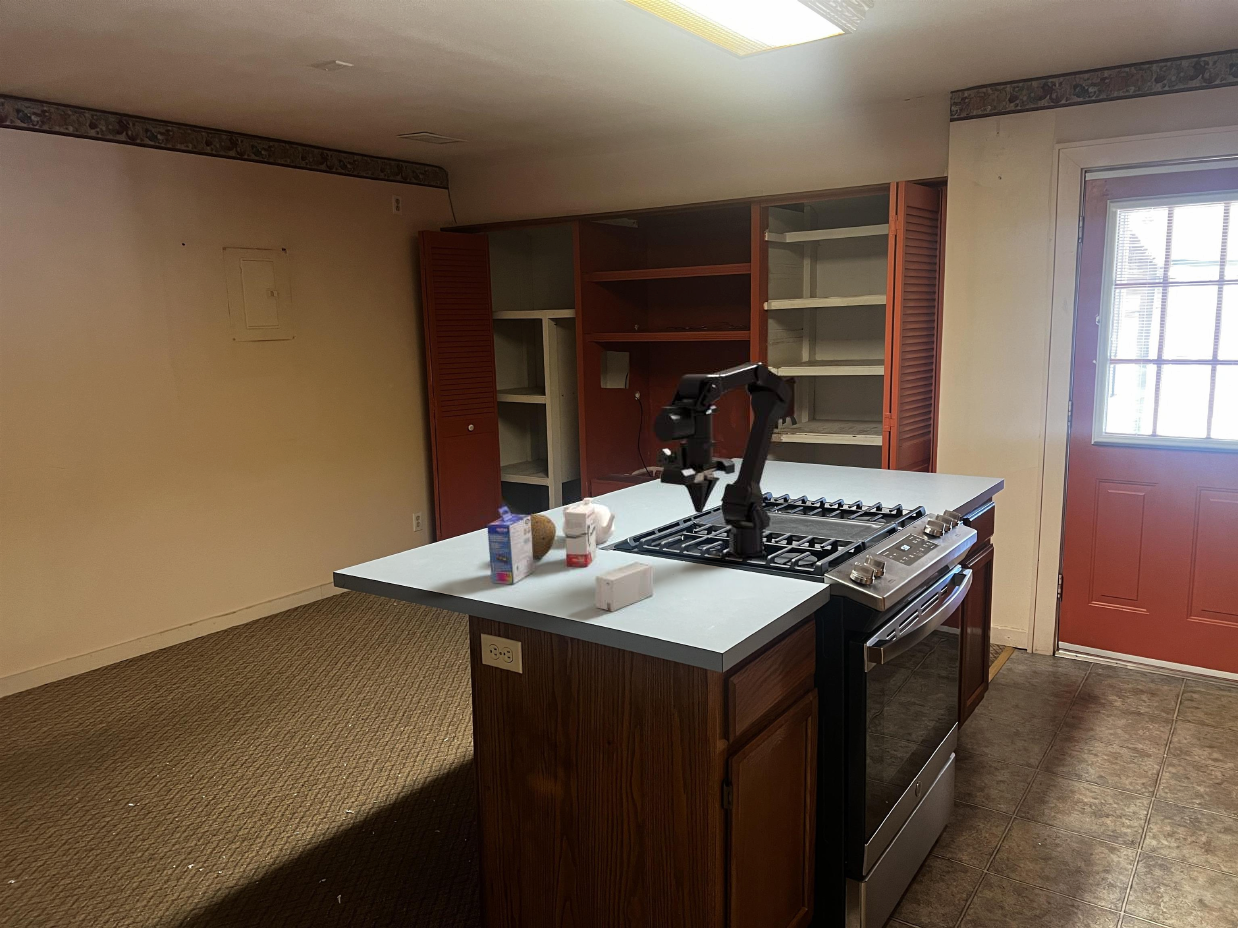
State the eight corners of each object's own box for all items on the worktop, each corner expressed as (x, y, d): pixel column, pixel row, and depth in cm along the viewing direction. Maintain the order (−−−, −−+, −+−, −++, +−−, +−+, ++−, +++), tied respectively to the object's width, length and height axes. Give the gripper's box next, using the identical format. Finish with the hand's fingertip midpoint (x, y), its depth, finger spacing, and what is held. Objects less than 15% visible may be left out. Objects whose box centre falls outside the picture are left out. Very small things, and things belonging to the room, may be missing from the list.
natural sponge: (522, 565, 187) (520, 520, 185) (510, 556, 195) (508, 512, 193) (562, 560, 190) (560, 515, 189) (548, 551, 199) (547, 508, 197)
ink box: (587, 567, 185) (586, 512, 183) (565, 566, 186) (563, 512, 184) (597, 556, 193) (595, 504, 191) (575, 556, 194) (573, 504, 192)
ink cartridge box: (510, 569, 184) (507, 502, 182) (534, 571, 182) (532, 503, 180) (489, 583, 175) (485, 512, 173) (514, 585, 173) (510, 513, 171)
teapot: (637, 543, 204) (636, 500, 203) (595, 552, 196) (594, 508, 195) (585, 529, 219) (583, 489, 218) (544, 537, 212) (543, 496, 210)
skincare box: (636, 561, 166) (593, 574, 157) (654, 564, 163) (611, 578, 154) (636, 592, 167) (593, 607, 158) (655, 596, 164) (612, 612, 155)
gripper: (692, 429, 189) (693, 500, 192) (638, 439, 175) (639, 515, 178) (736, 433, 182) (736, 506, 184) (683, 443, 168) (684, 522, 170)
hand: (698, 512), depth 179 cm, fingers closed
